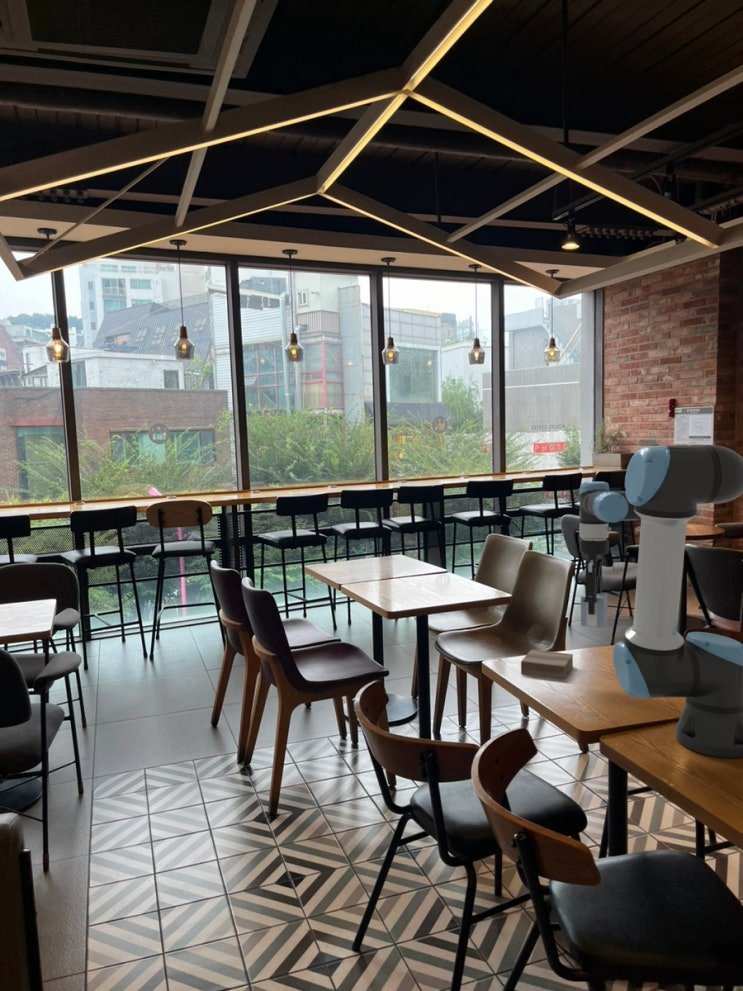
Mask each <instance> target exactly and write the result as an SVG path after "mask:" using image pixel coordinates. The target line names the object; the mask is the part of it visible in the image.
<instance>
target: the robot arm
mask: <svg viewBox="0 0 743 991" xmlns="http://www.w3.org/2000/svg"><path fill="white" fill-rule="evenodd" d="M625 472H626V473H625V477H624V489H625V491H624V490H620V491H618V490H617V491H616V490H615V491H612V490H611V491H610V484H609V483H608V482H606V481H584V482H581V484H580V487H579V494H578V498H579V537H580V539H579V553H581V554H584V555H587V560H586V559H585V564H584V568H585V588H584V589H585V591H584V593H585V599H584V602H587V614H586V626H585V627H589V626H596V627H595V628H598V627H597V602H596V601H597V593H602V594H605V593H603V592H604V591H603V563H604V561H603V560H604V559H603V557H601V555H607V554H609V552H610V549H609V548H610V546H609V545H610V541H609V539H608V538H609V537H610V536H609V534H610V533H609V532H610V531H611V530H612V528H611V526H609V523H617V522H621V521H625V522H626V521H640V528H639V529H640V530H639V531H640V533H639V544H638V545H639V546H638V555H637V556H638V557H637V558H638V559H637V571H636V583H635V584H636V585H635V587H636V588H635V597H634V598H635V599H634V609H633V610H634V611H633V612H634V613H633V622H632V623H633V624H632V625H631V626H629V627H627V629H626V630H625V632H624V641H618V642H616V643H615V644H614V646H613V650H612V657H613V665H614V669H615V670H614V671H615V674H616V677H617V681H618V682H619V685H620V687H621V688H622V690H623V692H624V693H625V694H626V695H628V697H631V698H639V699H641V698H642V699H647V700H650V699H656V698H657V699H659V698H660V699H661V698H664V699H665V698H685V703H684V707H683V710H682V711H681V714H680V717H679V719H678V721H677V724H676V728H675V729H676V732H675V737H676V740H677V742H678V743H680V744H681V745H682V746H684V748H687V749H688V750H691V751H693V752H696V753H699V754H703V755H706V756H710V757H717V758H723V759H724V758H725V759H727V758H728V759H737V758H743V643H741V642H740V641H738V640H736V639H733V638H731V637H728V636H725V635H720V634H718V633H711V632H703V631H691V632H688V633H687V634H686V637H685V639H684V637H683V636H682V635H681V633H679V632H678V625H679V623H678V622H679V613H680V612H679V611H680V602H681V600H680V599H681V590H682V579H683V569H684V558H685V557H684V556H685V547H686V535H687V527H688V525H687V524H688V523H689V521H692V519H694V518H695V517H696V516H697V509H698V507H700V506H703V505H706V504H713V505H718V504H719V505H721V504H725V503H728V502H731V501H734V500H736V499H737V498H739V497H741V496H742V495H743V456H742V455H740V454H739V453H737V452H736V451H734V450H733V449H731V448H728V447H726V446H721V445H716V444H715V445H714V444H709V445H707V444H706V445H657V446H656V445H655V446H648V447H647V446H646V447H641V448H640V449H638V450H637V451H636V452H634V454H633V455H632V457H631V458H630V460H629V463H628V465H627V468H626V471H625Z"/></svg>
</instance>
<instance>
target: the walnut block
mask: <svg viewBox="0 0 743 991" xmlns="http://www.w3.org/2000/svg"><path fill="white" fill-rule="evenodd" d="M529 650H530V651H528V652H527V654H525V656H524V657H523V658H522V660H521V661H520V674H521V675H529V676H534V677H535V676H536V677H542V678H549V679H550V678H551V679H557V680H564V681H565V680H566V678H567V676H568V675H569V674H570V671H571V670H572V668H573V662H574V660H573V658H574V657H573V656H574V655H573V653H564V652H556V651H549V650H548V651H547V650H539V649H529Z"/></svg>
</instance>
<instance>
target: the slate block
mask: <svg viewBox="0 0 743 991" xmlns="http://www.w3.org/2000/svg"><path fill="white" fill-rule="evenodd" d="M602 593H603V592H602ZM602 593H597V601H596V602H597V627H596V626H588V628H589V627H590V628H602V629H604V628H605V627H606V626H607V624H608V593H604V594H602ZM584 599H585V592H584V593H583V594H582V595H581V596H580V626H581V627H587V626H586V614H587V602H584Z"/></svg>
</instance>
